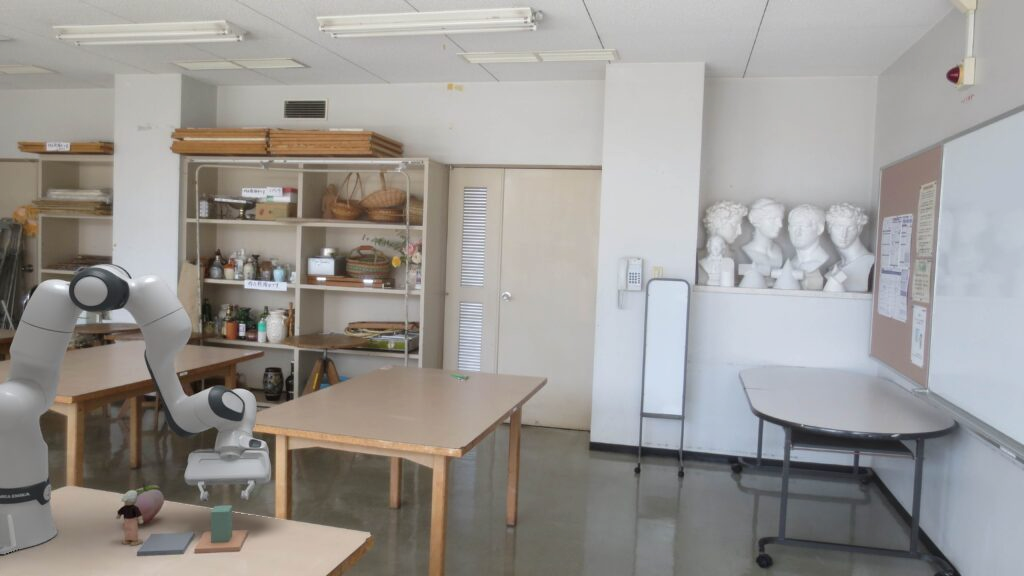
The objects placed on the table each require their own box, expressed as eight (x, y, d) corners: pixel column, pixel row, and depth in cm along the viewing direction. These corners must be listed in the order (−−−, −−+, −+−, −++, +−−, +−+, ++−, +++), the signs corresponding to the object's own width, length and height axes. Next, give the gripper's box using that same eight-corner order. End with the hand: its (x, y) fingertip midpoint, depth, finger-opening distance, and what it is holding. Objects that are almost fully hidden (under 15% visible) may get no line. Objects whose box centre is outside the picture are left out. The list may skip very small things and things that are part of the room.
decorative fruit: (143, 514, 188) (143, 477, 188) (169, 517, 186) (169, 480, 186) (115, 527, 179) (115, 488, 179) (142, 531, 177) (142, 492, 176)
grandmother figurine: (150, 539, 173) (150, 488, 172) (140, 546, 169) (140, 494, 168) (120, 537, 173) (120, 486, 173) (110, 544, 170) (109, 492, 169)
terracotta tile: (194, 553, 166) (194, 549, 166) (205, 535, 176) (205, 531, 176) (239, 551, 168) (239, 546, 168) (247, 533, 178) (247, 529, 177)
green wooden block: (211, 542, 169) (210, 512, 169) (215, 535, 173) (214, 505, 173) (228, 542, 170) (228, 511, 170) (232, 535, 174) (232, 505, 174)
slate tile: (136, 555, 164) (136, 551, 164) (151, 537, 174) (151, 533, 174) (183, 553, 166) (183, 549, 166) (194, 535, 175) (194, 532, 175)
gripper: (187, 443, 179) (176, 495, 170) (272, 441, 182) (265, 492, 173) (192, 455, 183) (181, 506, 174) (275, 453, 187) (268, 503, 178)
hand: (224, 499), depth 174 cm, fingers open, 8 cm apart
